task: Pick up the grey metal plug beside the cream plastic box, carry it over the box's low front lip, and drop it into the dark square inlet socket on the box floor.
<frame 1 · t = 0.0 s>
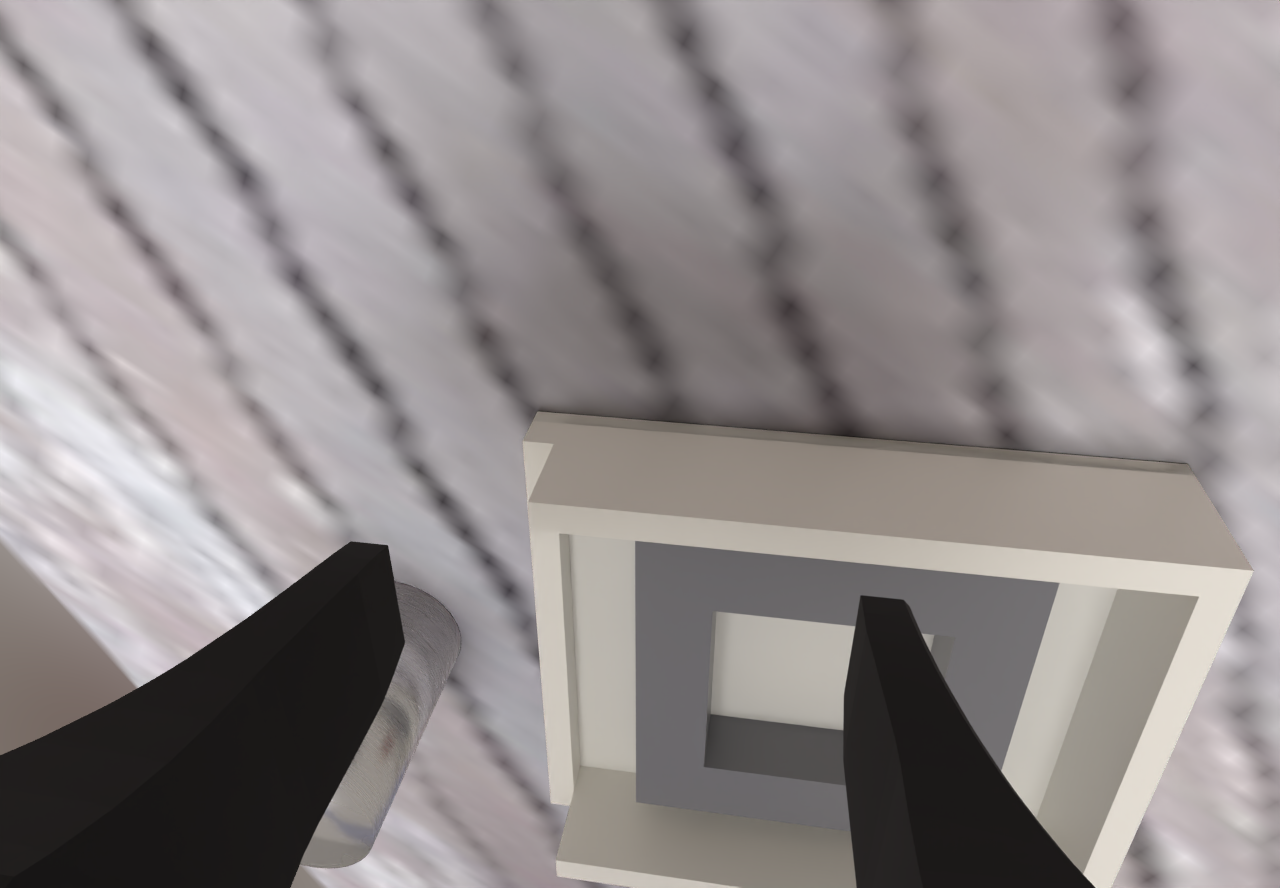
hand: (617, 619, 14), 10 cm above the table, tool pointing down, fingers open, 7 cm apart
metal plug: (400, 630, 30), on the table
walled box: (819, 641, 27), on the table
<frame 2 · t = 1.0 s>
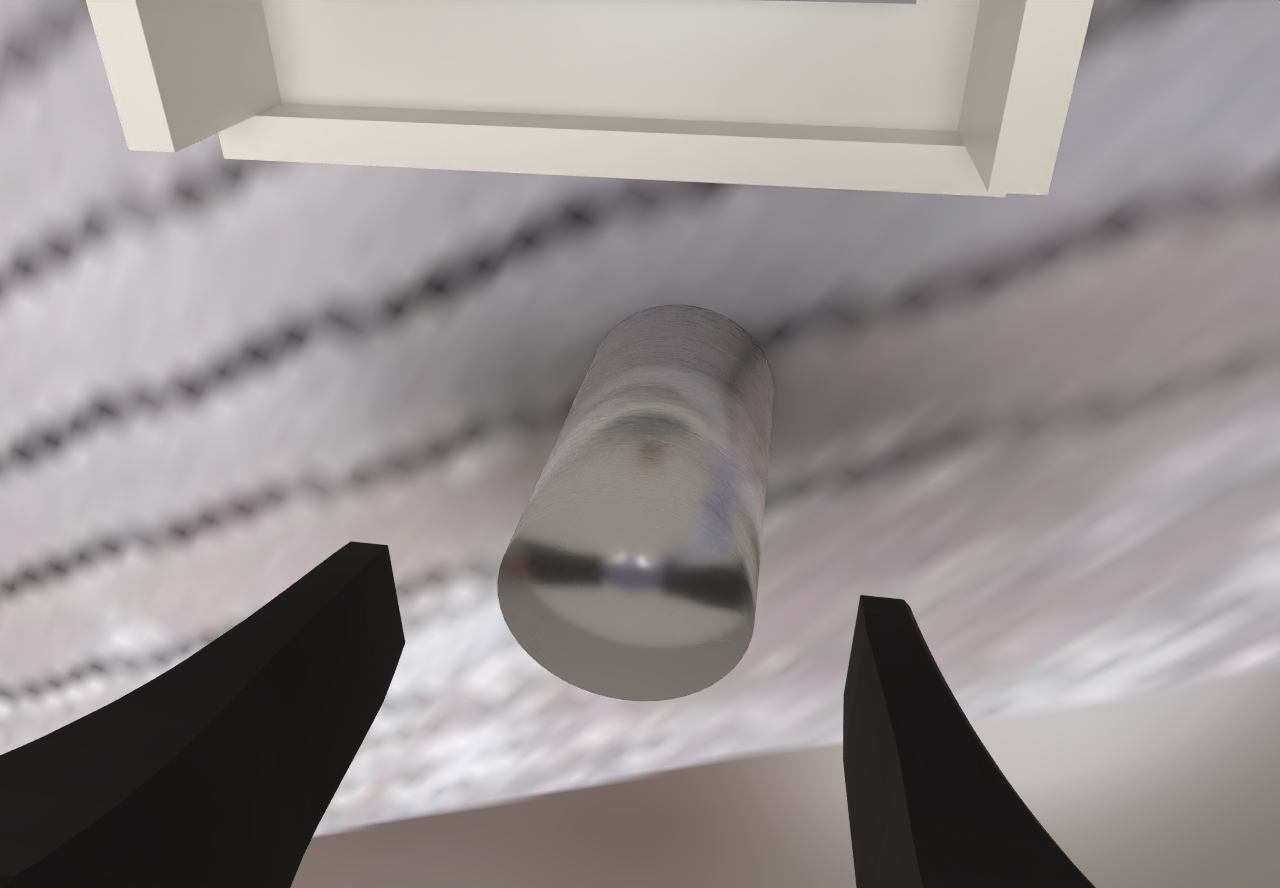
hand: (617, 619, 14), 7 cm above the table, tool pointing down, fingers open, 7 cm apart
metal plug: (680, 390, 20), on the table
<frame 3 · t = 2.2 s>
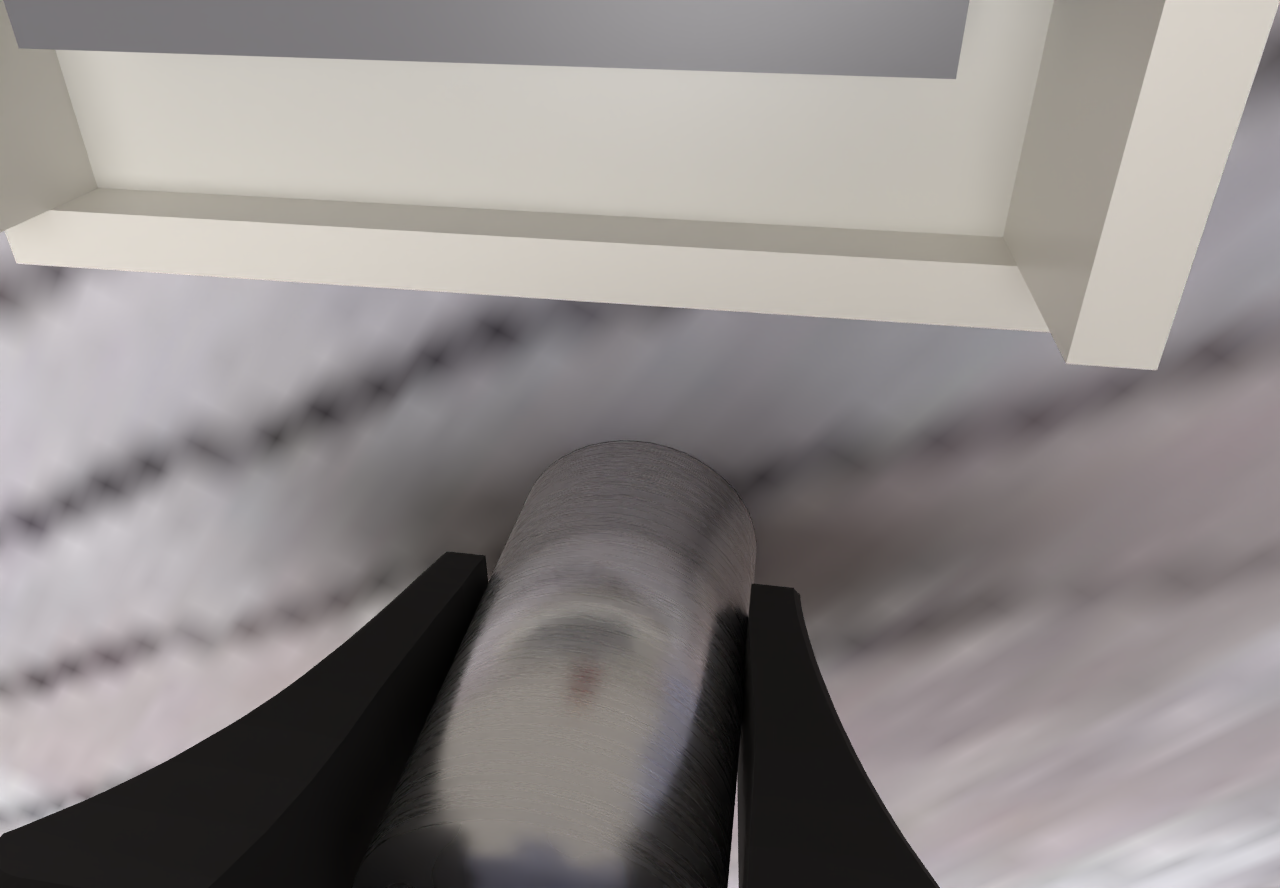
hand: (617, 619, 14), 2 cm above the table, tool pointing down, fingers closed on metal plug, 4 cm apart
metal plug: (637, 541, 16), on the table, touching gripper
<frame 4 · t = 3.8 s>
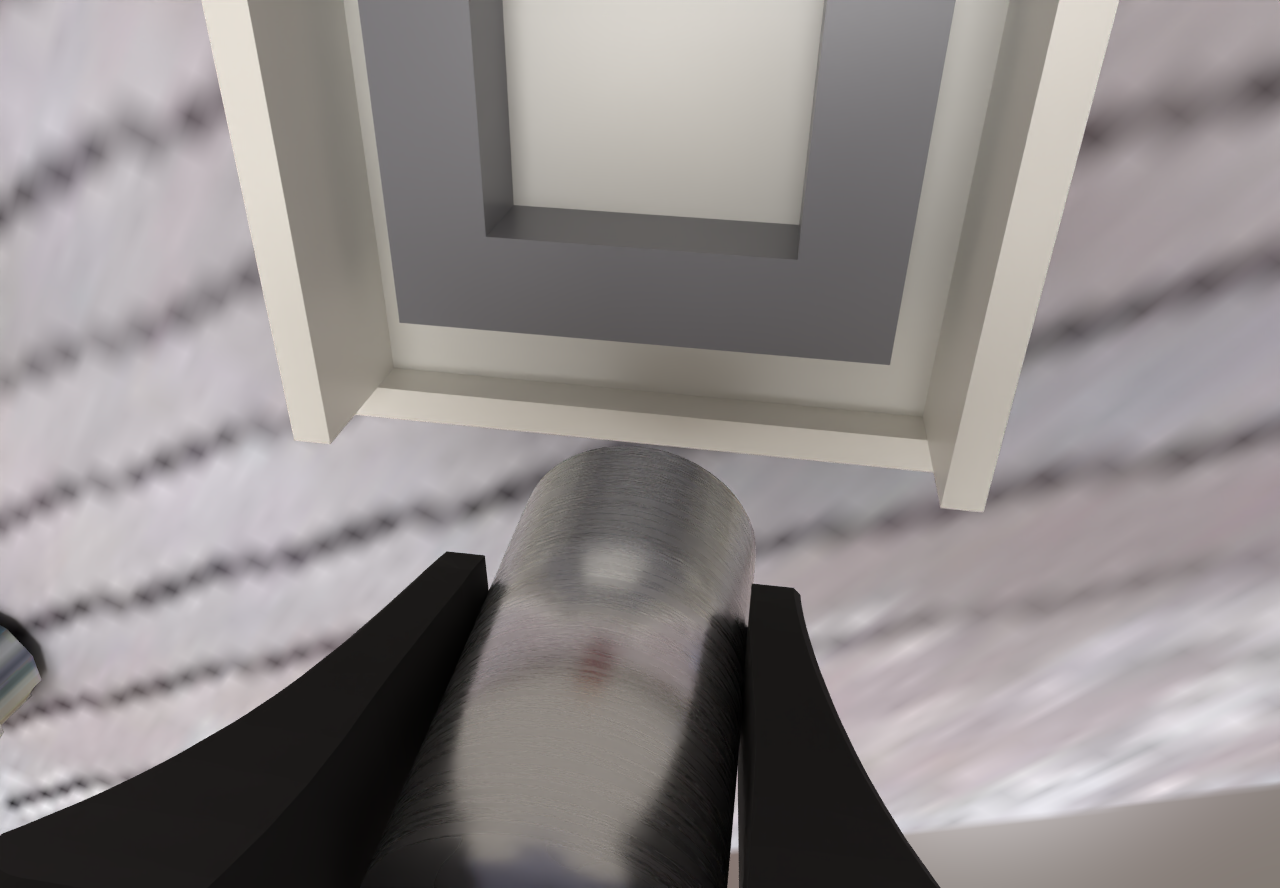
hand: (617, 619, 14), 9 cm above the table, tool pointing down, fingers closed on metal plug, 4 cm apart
metal plug: (637, 544, 16), point 7 cm above the table, touching gripper
walled box: (661, 56, 18), on the table
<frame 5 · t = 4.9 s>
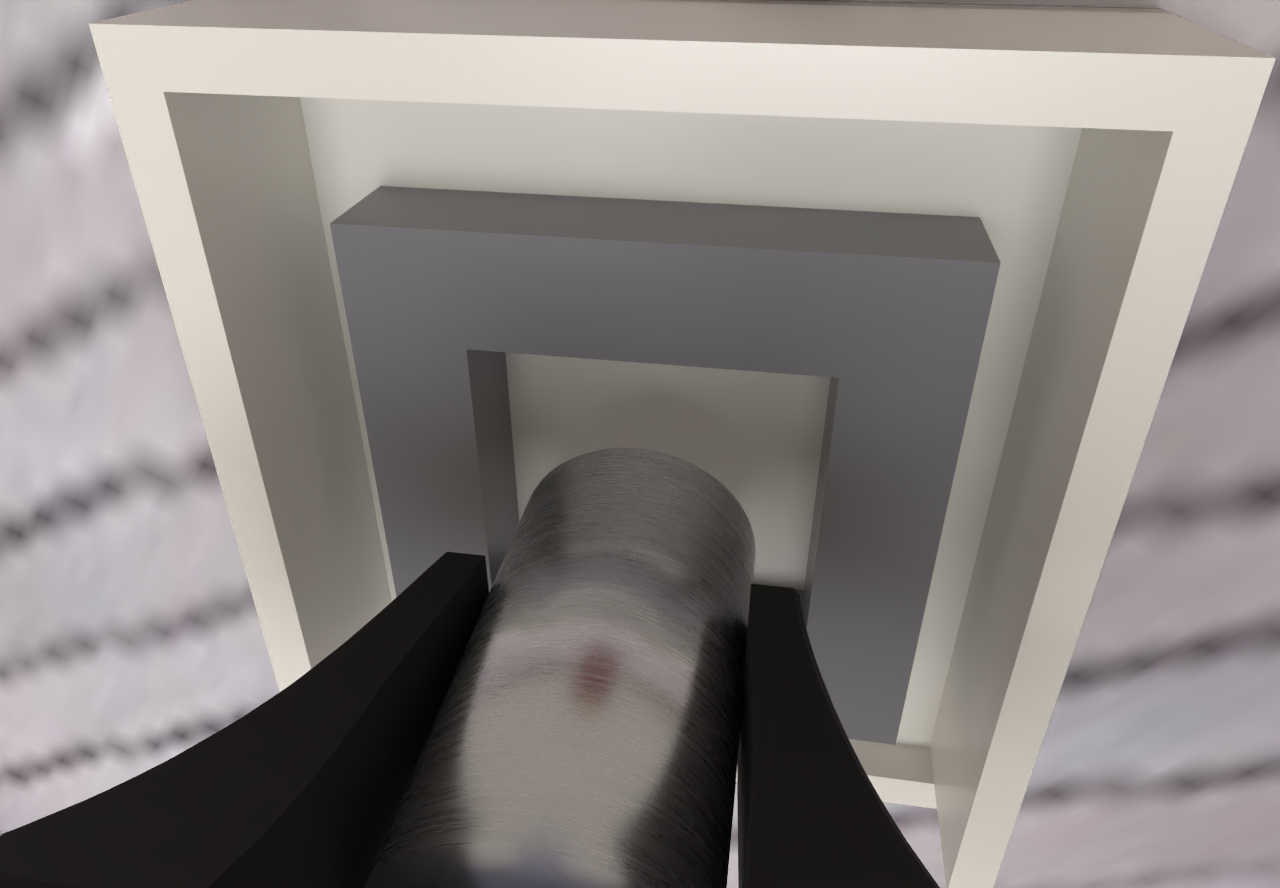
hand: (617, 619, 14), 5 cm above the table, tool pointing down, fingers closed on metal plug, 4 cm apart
metal plug: (637, 545, 16), point 3 cm above the table, touching gripper
walled box: (666, 441, 19), on the table
when the fingers open (4 cm above the table, at t = 5.6 s): metal plug drops 1 cm, resting on walled box.
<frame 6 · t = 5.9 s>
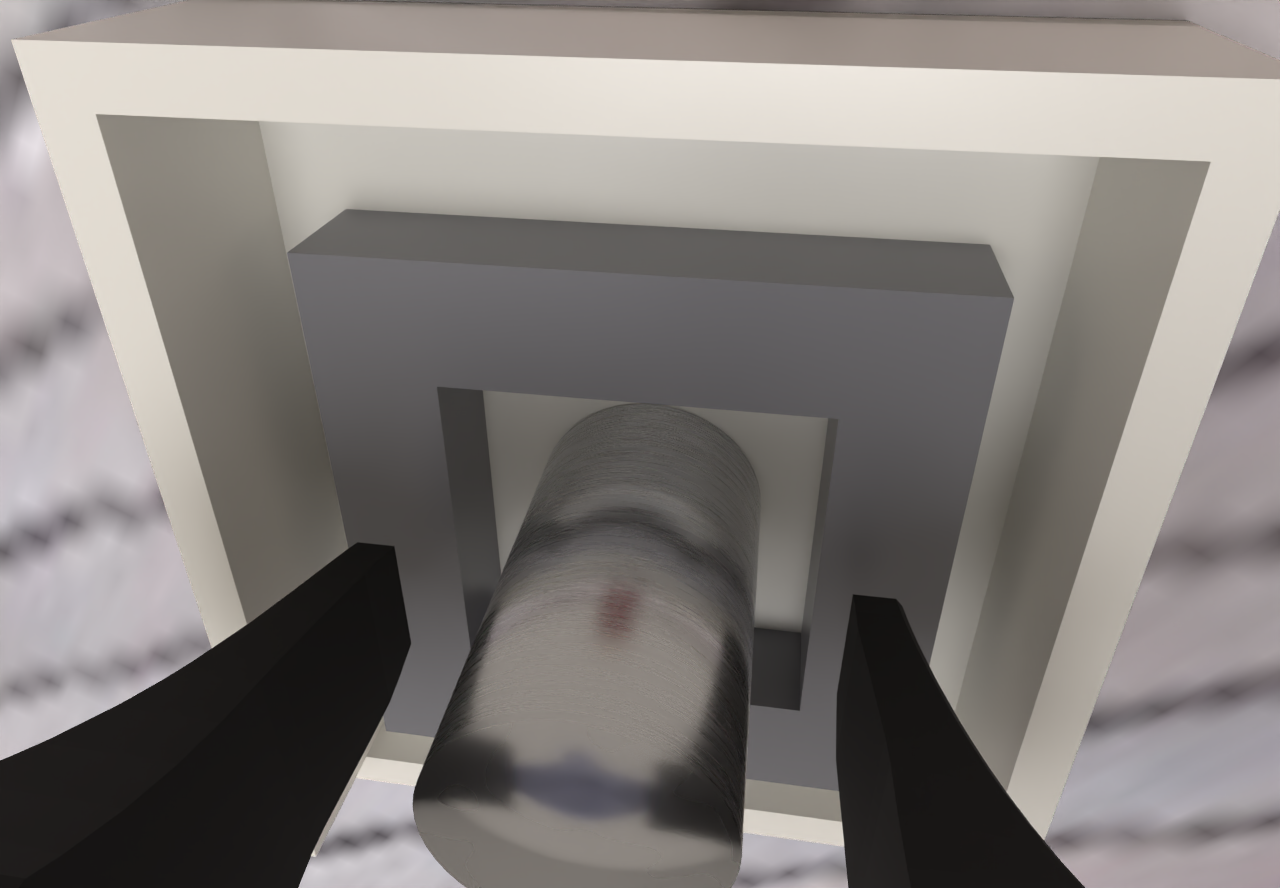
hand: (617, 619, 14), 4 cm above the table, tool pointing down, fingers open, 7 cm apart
metal plug: (650, 499, 17), point 1 cm above the table, touching walled box
walled box: (654, 477, 17), on the table
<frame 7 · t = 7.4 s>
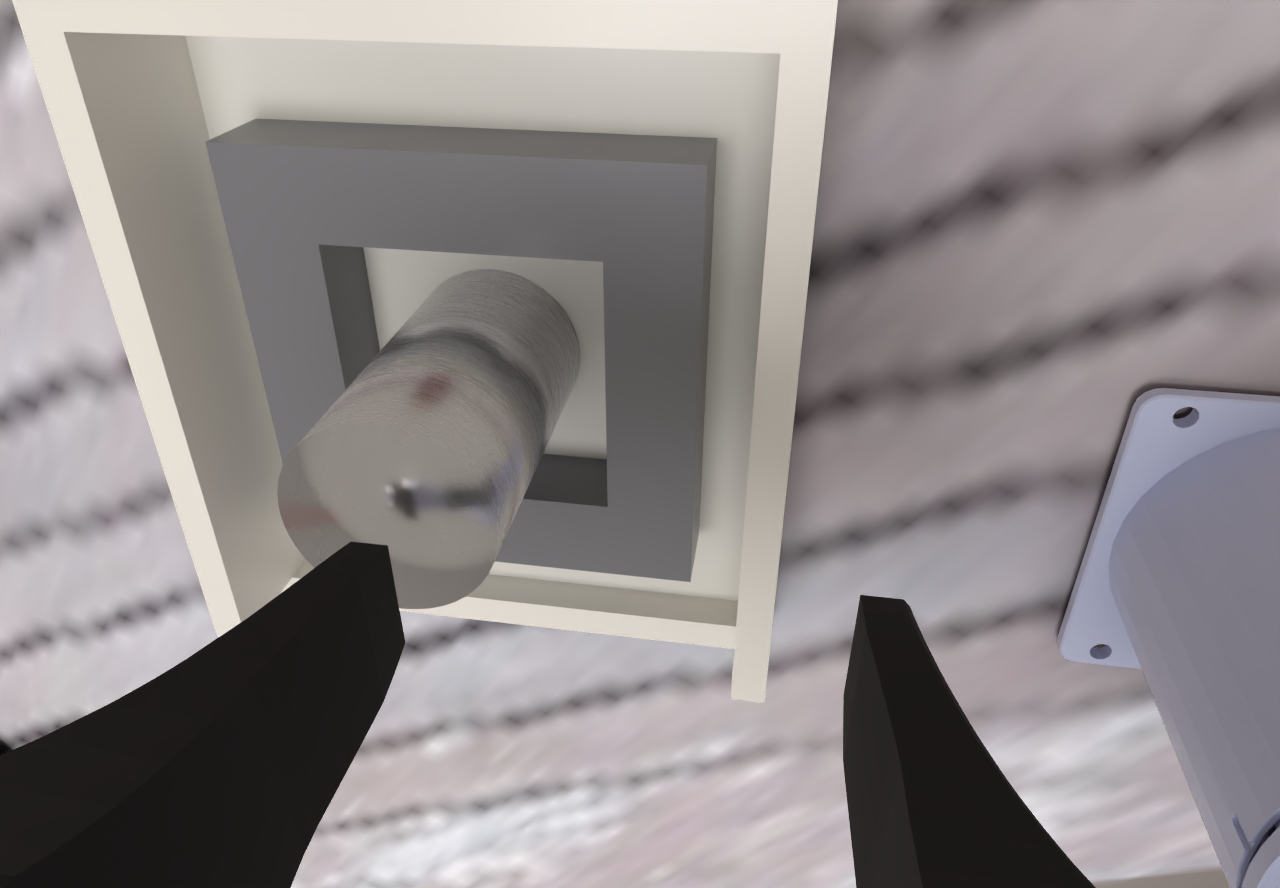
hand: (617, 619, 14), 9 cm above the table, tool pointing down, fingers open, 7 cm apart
metal plug: (498, 348, 22), point 1 cm above the table, touching walled box
walled box: (503, 334, 23), on the table
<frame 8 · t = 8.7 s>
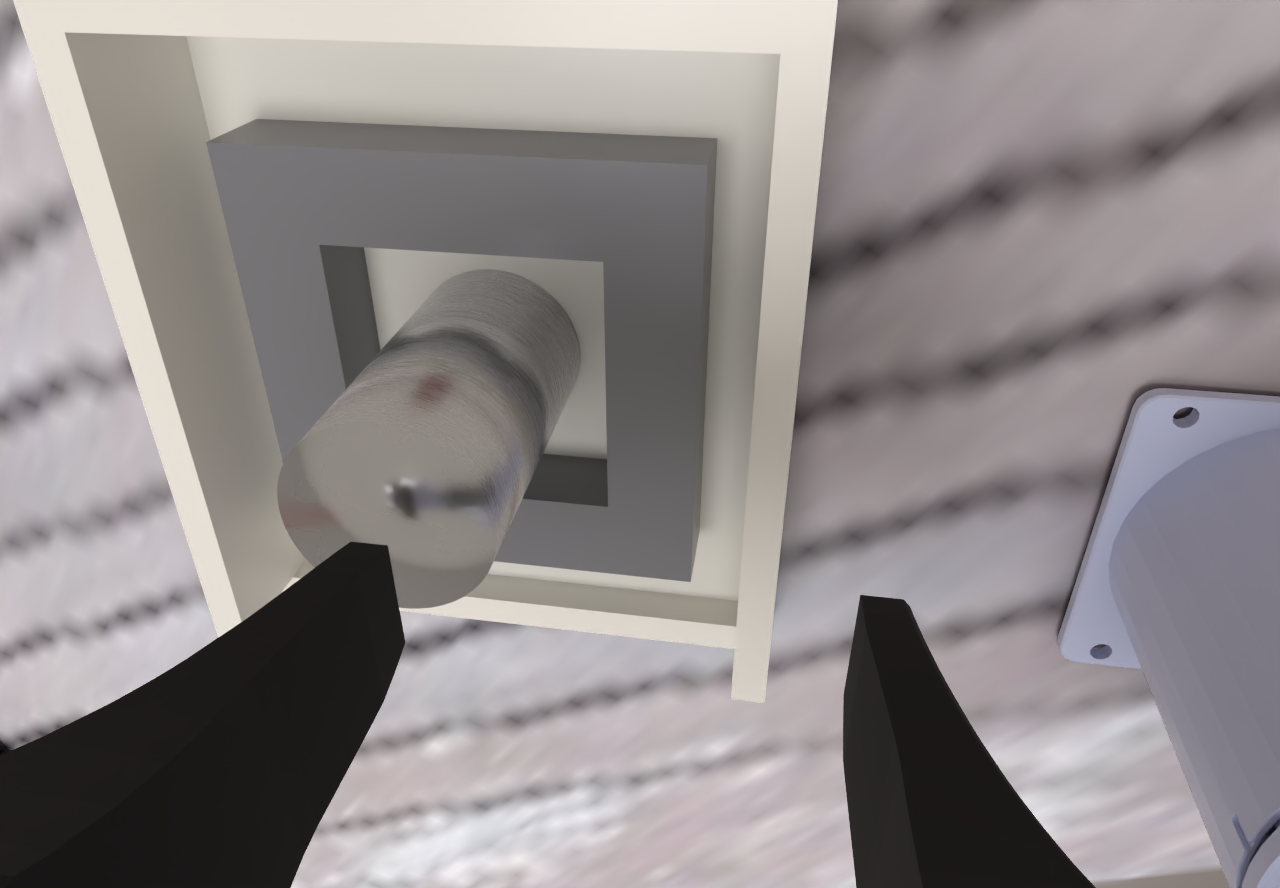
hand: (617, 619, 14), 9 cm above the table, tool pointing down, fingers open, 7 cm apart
metal plug: (498, 348, 22), point 1 cm above the table, touching walled box
walled box: (503, 335, 23), on the table
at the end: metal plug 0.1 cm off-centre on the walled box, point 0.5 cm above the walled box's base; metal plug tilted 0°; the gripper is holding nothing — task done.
